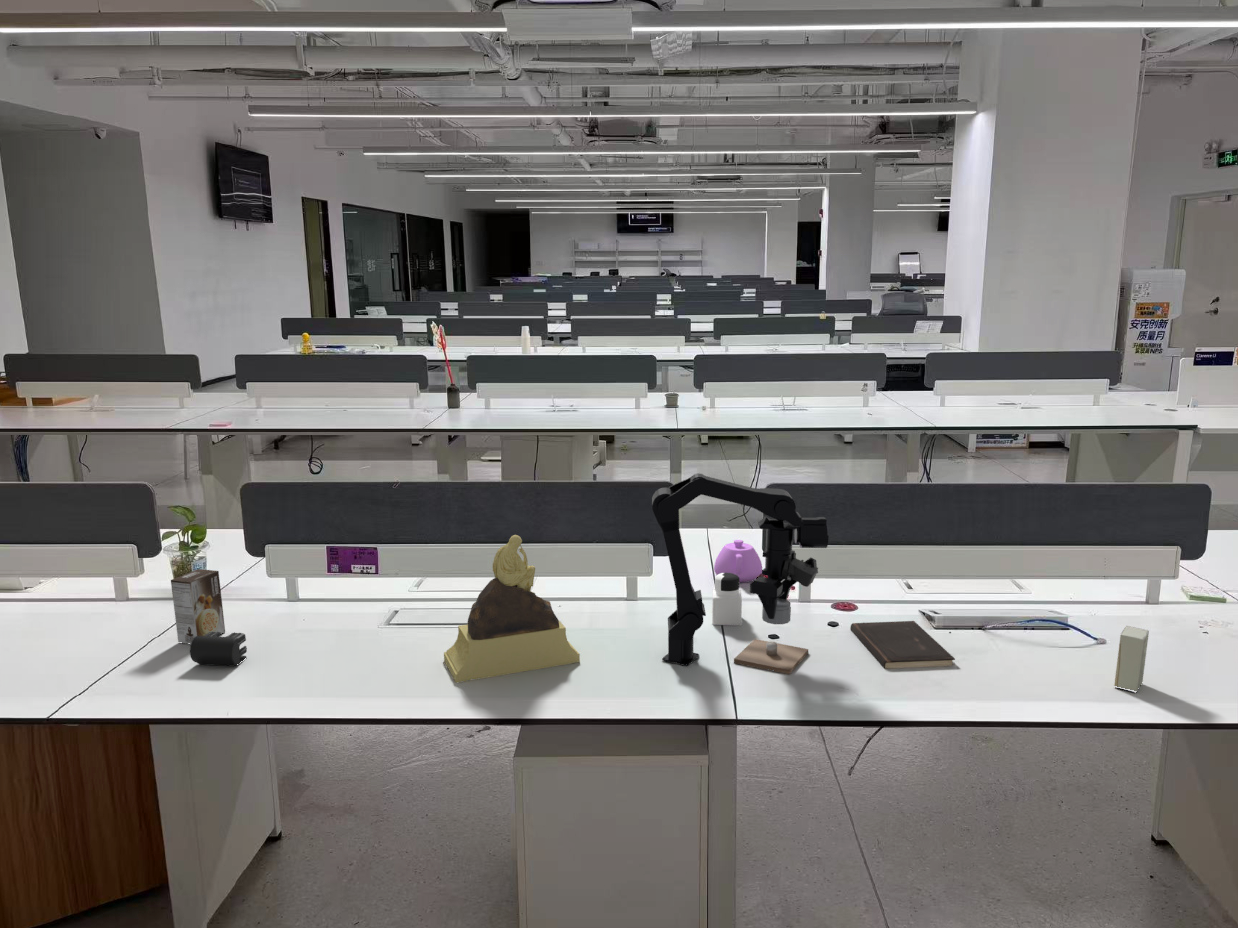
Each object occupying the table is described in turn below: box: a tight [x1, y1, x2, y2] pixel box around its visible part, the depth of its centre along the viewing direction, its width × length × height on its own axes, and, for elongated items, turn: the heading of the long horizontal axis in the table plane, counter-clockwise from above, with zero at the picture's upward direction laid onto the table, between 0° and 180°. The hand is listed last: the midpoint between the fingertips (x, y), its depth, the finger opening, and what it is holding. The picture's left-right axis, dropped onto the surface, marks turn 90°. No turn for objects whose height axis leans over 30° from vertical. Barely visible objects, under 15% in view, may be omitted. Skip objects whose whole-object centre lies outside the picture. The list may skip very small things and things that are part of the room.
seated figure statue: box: [443, 534, 581, 684], centre depth 206 cm, size 28×13×30 cm, turn 112°
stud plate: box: [733, 638, 809, 675], centre depth 209 cm, size 13×13×4 cm
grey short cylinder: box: [761, 598, 792, 625], centre depth 207 cm, size 6×6×4 cm
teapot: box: [713, 539, 763, 583], centre depth 267 cm, size 14×20×11 cm
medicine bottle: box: [711, 573, 743, 627], centre depth 232 cm, size 7×7×12 cm
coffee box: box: [170, 568, 226, 644], centre depth 223 cm, size 9×6×16 cm
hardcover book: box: [849, 620, 956, 670], centre depth 215 cm, size 16×23×2 cm
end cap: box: [189, 632, 248, 667], centre depth 209 cm, size 10×7×7 cm
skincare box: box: [1113, 625, 1150, 691], centre depth 193 cm, size 6×4×12 cm
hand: (776, 614), depth 207 cm, fingers closed on grey short cylinder, 6 cm apart
